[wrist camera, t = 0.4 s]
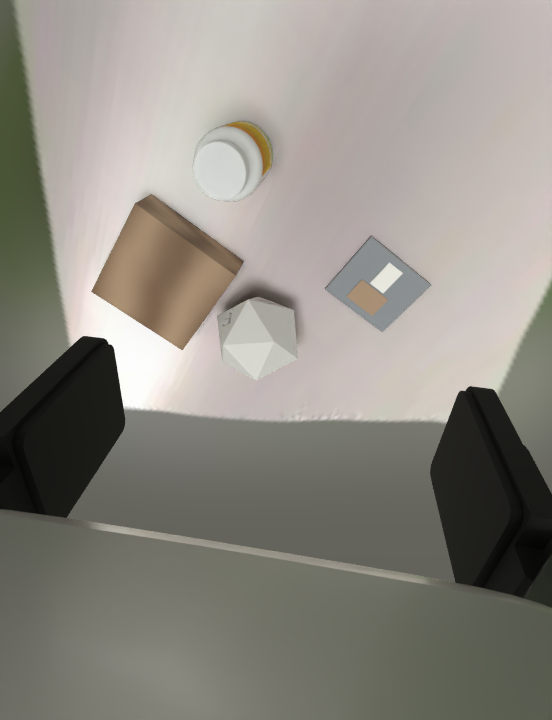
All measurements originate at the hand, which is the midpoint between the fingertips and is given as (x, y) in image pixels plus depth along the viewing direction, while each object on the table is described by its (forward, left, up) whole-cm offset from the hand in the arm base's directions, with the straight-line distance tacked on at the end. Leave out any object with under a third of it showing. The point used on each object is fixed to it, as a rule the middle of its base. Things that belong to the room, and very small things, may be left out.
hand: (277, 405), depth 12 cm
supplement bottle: (-7, -2, -33) cm, 34 cm away
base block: (-7, -16, -33) cm, 37 cm away
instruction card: (+11, -4, -33) cm, 35 cm away
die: (+4, -15, -33) cm, 36 cm away
